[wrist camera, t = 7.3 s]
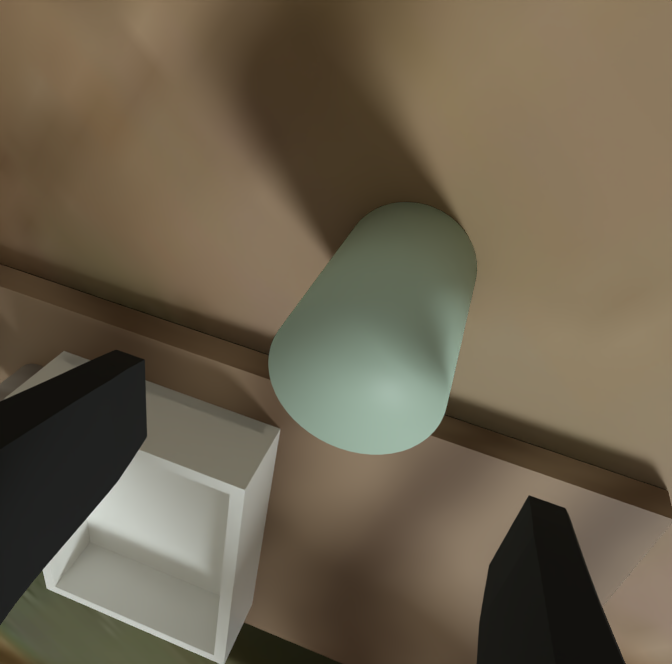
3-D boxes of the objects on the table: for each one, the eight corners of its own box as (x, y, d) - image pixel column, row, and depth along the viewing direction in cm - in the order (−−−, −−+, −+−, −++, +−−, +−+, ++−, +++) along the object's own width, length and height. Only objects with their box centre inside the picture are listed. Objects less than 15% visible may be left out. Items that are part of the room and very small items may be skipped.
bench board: (668, 490, 18) (698, 626, 15) (501, 703, 28) (494, 819, 24) (-57, 245, 23) (-178, 300, 19) (8, 499, 32) (-65, 571, 28)
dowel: (496, 224, 16) (473, 339, 11) (454, 340, 18) (420, 477, 13) (358, 185, 16) (278, 277, 11) (334, 302, 19) (260, 420, 14)
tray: (280, 429, 21) (244, 489, 18) (252, 604, 28) (223, 665, 25) (63, 350, 22) (4, 398, 20) (88, 536, 29) (46, 588, 27)
